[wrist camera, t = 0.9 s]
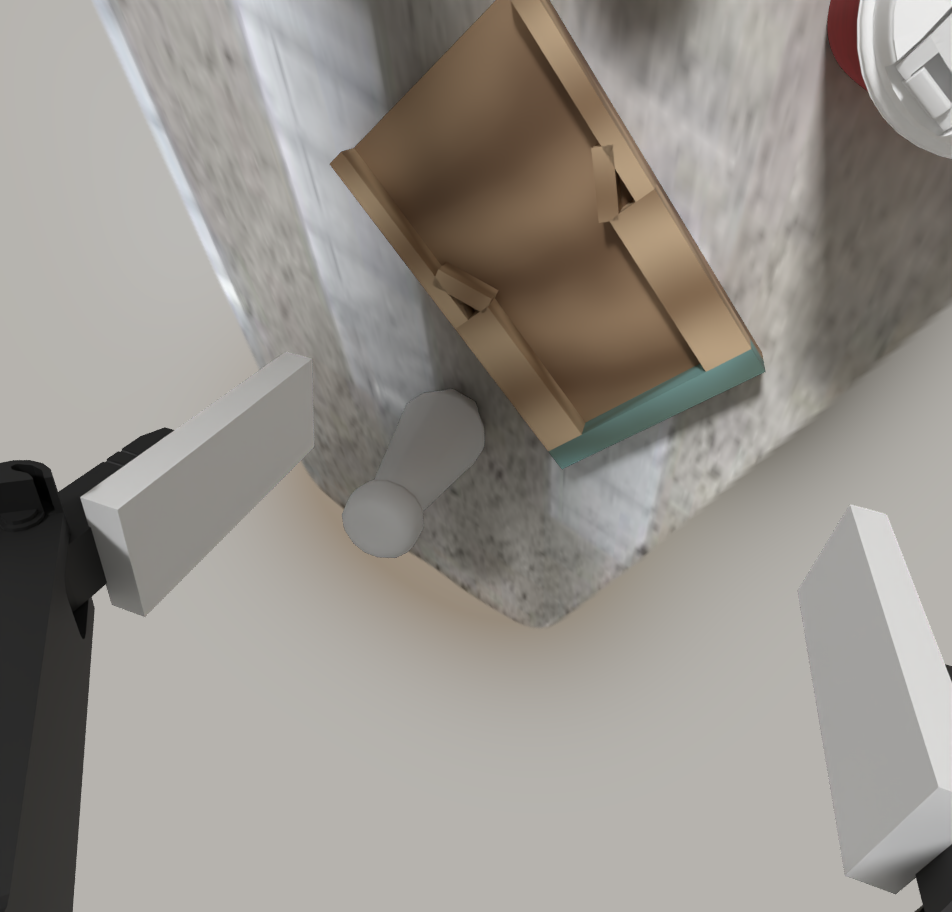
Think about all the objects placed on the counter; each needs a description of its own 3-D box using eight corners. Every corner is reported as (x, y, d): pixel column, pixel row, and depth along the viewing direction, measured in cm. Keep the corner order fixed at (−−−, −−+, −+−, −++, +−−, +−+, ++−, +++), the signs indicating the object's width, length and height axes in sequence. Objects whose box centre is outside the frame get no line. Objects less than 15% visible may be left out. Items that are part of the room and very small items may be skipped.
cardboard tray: (350, 157, 36) (329, 164, 34) (531, -30, 29) (518, -35, 27) (568, 448, 42) (561, 469, 40) (762, 352, 35) (765, 371, 33)
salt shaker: (432, 361, 41) (340, 468, 31) (508, 404, 41) (441, 526, 31) (402, 425, 45) (311, 541, 34) (472, 465, 45) (402, 593, 34)
